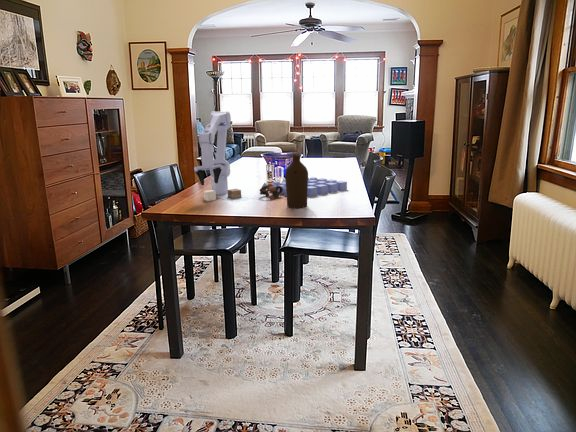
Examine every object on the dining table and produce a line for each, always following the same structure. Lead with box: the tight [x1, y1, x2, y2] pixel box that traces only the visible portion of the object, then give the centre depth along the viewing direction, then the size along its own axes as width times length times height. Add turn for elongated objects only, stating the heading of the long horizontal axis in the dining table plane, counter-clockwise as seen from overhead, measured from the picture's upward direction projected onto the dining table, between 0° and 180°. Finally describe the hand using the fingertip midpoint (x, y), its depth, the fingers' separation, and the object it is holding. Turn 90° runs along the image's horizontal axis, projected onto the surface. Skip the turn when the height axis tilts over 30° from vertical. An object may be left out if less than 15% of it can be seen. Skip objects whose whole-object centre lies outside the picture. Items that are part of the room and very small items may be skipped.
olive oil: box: [284, 152, 309, 209], centre depth 207 cm, size 11×11×25 cm
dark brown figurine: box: [259, 183, 283, 200], centre depth 230 cm, size 12×10×8 cm
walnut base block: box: [227, 188, 242, 199], centre depth 231 cm, size 5×5×4 cm
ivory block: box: [203, 189, 217, 202], centre depth 227 cm, size 4×4×5 cm
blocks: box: [261, 176, 348, 198], centre depth 249 cm, size 35×34×5 cm
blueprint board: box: [216, 194, 254, 203], centre depth 231 cm, size 18×12×1 cm, turn 37°
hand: (209, 184), depth 225 cm, fingers open, 7 cm apart
